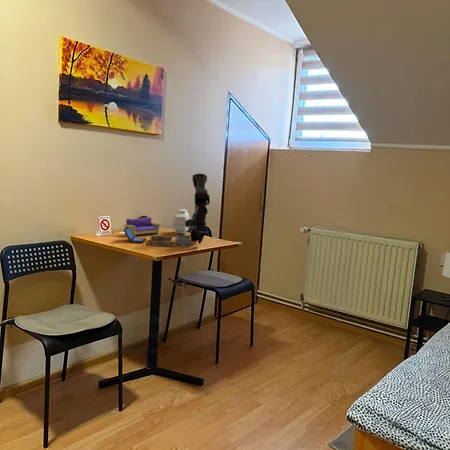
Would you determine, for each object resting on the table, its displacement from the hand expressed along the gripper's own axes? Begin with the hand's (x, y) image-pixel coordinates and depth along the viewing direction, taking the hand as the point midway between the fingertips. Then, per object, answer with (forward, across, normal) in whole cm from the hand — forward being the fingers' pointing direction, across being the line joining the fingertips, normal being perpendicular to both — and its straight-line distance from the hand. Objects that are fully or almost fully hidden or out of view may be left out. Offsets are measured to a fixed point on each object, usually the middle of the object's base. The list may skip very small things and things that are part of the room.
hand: (198, 242), depth 255 cm
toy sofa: (+2, -25, -32) cm, 41 cm away
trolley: (+2, 0, -9) cm, 9 cm away
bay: (+2, 0, -21) cm, 21 cm away
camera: (+2, -37, -8) cm, 38 cm away
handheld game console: (+2, -3, -35) cm, 35 cm away
